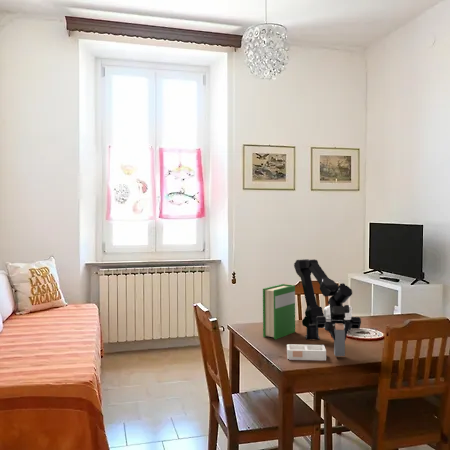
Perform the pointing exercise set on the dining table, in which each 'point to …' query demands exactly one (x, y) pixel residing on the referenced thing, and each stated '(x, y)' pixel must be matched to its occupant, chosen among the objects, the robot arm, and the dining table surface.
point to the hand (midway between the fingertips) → (339, 340)
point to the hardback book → (278, 311)
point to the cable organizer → (328, 316)
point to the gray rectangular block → (339, 339)
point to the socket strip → (306, 352)
